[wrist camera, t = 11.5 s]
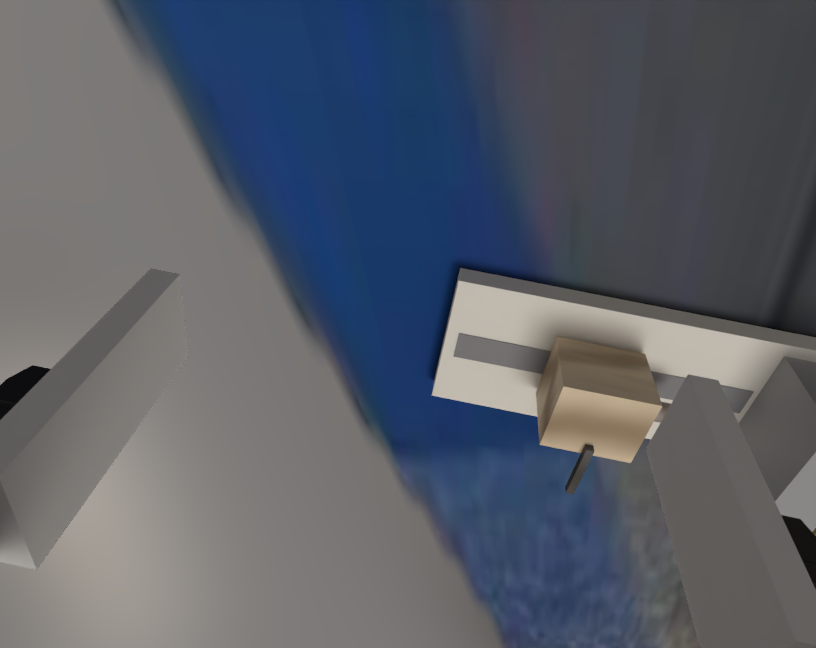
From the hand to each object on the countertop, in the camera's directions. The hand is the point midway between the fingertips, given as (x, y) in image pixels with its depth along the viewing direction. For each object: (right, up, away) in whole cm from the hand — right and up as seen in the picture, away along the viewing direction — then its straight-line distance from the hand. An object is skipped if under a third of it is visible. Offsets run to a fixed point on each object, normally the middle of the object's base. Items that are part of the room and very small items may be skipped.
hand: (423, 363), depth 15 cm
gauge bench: (+18, -2, +34) cm, 38 cm away
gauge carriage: (+15, -5, +33) cm, 37 cm away
